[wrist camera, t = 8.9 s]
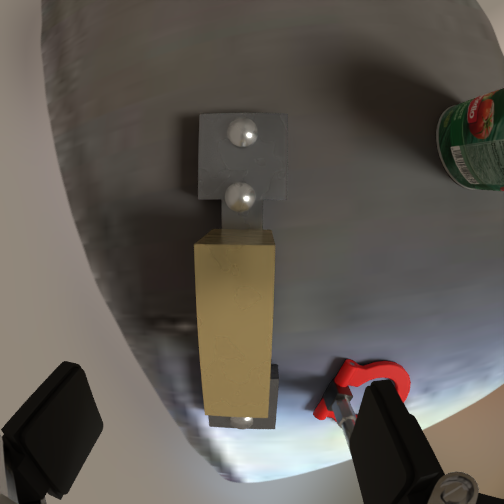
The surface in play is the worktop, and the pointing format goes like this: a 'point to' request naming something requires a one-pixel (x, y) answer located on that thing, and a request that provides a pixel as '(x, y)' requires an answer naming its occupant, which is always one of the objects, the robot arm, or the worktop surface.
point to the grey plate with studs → (244, 193)
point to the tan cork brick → (235, 320)
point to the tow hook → (355, 375)
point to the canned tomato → (474, 142)
